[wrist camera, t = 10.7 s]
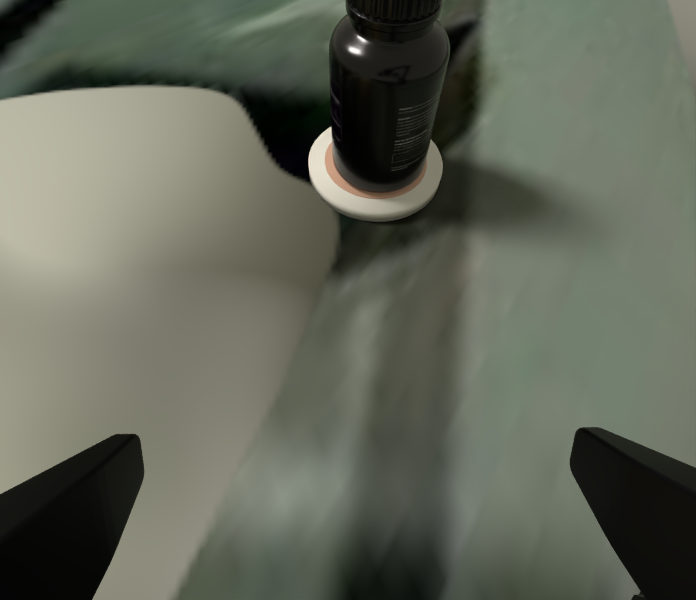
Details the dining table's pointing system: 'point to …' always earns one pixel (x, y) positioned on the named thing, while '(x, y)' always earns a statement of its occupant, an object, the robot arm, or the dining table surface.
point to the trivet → (370, 203)
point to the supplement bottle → (385, 90)
